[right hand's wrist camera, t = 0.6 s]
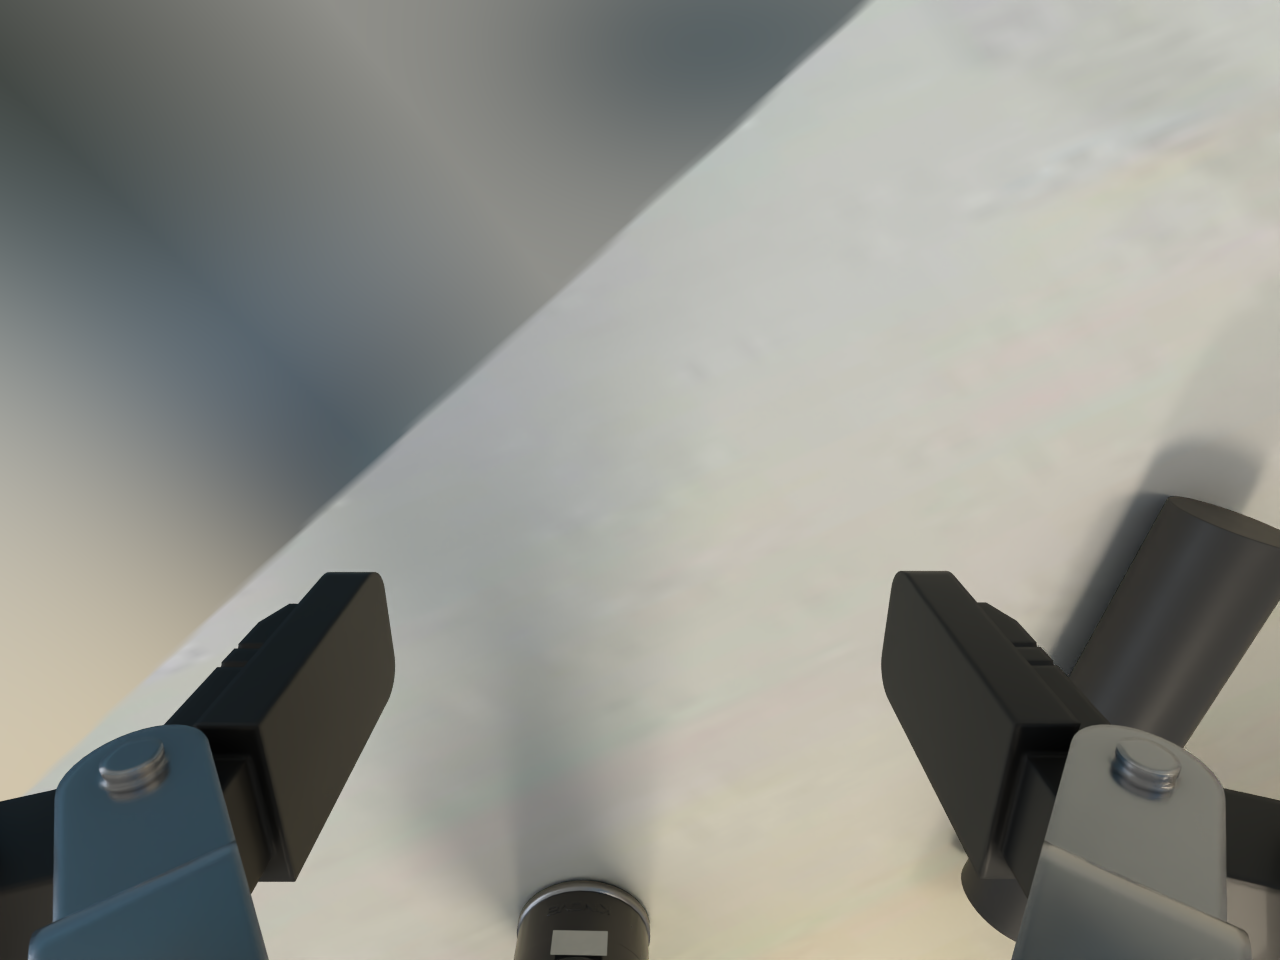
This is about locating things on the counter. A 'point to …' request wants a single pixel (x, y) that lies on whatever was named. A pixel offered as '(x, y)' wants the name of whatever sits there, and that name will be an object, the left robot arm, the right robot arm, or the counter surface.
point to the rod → (1166, 641)
